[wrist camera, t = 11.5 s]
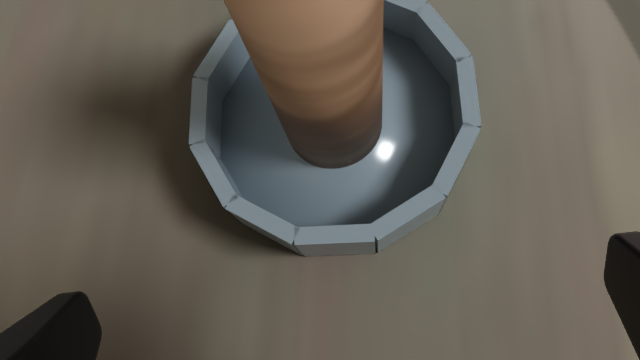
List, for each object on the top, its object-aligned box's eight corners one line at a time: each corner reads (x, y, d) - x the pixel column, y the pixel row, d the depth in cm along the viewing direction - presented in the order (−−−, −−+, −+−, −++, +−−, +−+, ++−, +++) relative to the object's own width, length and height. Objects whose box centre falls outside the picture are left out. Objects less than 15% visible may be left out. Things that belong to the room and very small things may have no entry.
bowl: (480, 249, 22) (495, 236, 19) (207, 260, 23) (182, 249, 20) (452, 8, 26) (461, -34, 23) (216, 28, 27) (197, -9, 24)
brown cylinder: (360, 182, 23) (341, 27, 11) (270, 149, 24) (168, -26, 12) (396, 96, 24) (411, -127, 12) (308, 67, 25) (247, -165, 13)
